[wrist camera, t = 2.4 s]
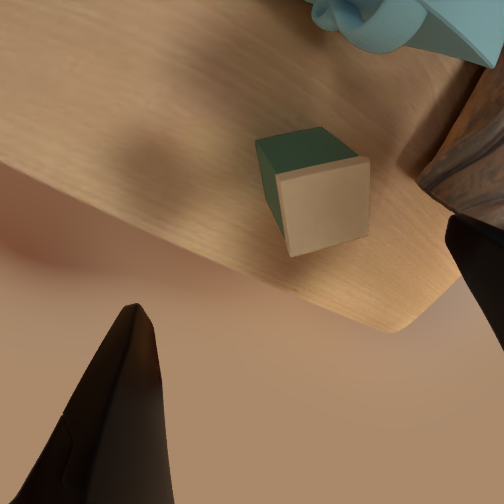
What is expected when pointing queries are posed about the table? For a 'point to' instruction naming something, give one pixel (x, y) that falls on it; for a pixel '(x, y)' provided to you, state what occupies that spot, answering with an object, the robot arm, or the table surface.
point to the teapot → (418, 26)
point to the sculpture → (473, 155)
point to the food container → (315, 189)
